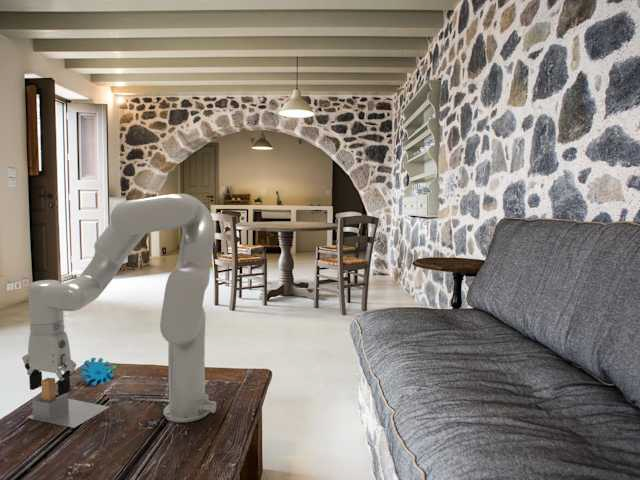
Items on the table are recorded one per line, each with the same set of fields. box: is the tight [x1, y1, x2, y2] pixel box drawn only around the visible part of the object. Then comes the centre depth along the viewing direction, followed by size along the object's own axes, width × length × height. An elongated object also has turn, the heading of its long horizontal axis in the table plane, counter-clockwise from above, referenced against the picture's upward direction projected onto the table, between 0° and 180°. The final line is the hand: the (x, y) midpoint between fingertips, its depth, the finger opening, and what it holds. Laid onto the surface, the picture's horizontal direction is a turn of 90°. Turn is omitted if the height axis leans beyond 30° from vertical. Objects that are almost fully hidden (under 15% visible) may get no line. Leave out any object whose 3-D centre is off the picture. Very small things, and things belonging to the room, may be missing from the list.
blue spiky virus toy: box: [80, 357, 117, 387], centre depth 142 cm, size 11×6×10 cm
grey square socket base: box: [26, 391, 110, 429], centre depth 121 cm, size 16×12×6 cm
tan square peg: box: [41, 377, 57, 401], centre depth 118 cm, size 2×2×10 cm
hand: (50, 390), depth 118 cm, fingers open, 9 cm apart
